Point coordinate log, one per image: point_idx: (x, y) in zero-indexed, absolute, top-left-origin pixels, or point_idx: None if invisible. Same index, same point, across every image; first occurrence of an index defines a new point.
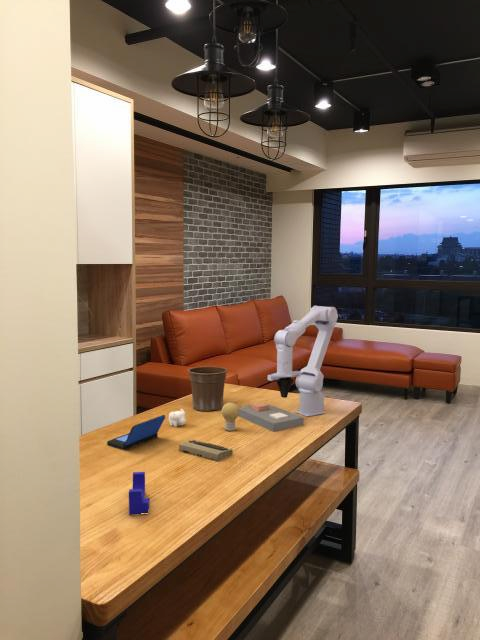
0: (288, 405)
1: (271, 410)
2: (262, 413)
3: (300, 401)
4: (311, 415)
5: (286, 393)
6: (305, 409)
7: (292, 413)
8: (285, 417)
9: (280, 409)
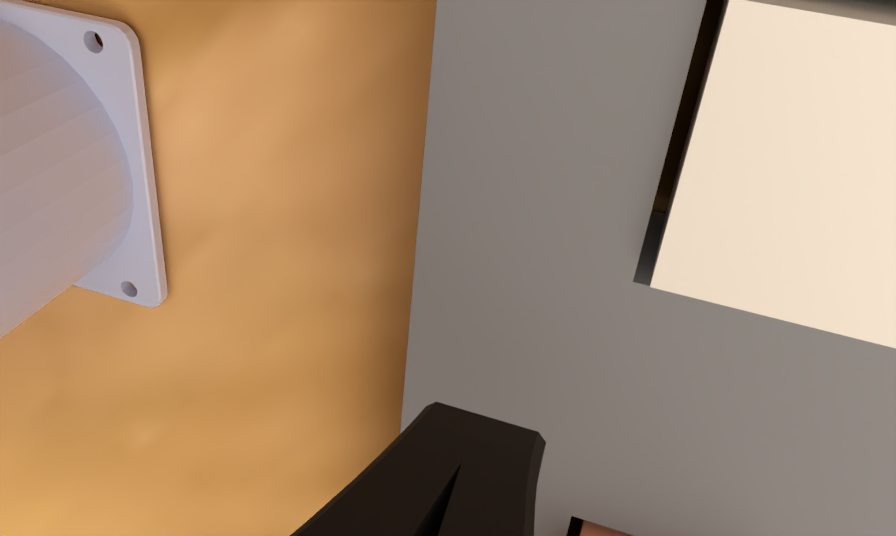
0: (87, 483)
1: (597, 478)
2: (889, 509)
3: (2, 308)
4: (56, 10)
5: (438, 503)
6: (55, 141)
7: (438, 106)
8: (825, 3)
9: (434, 401)
